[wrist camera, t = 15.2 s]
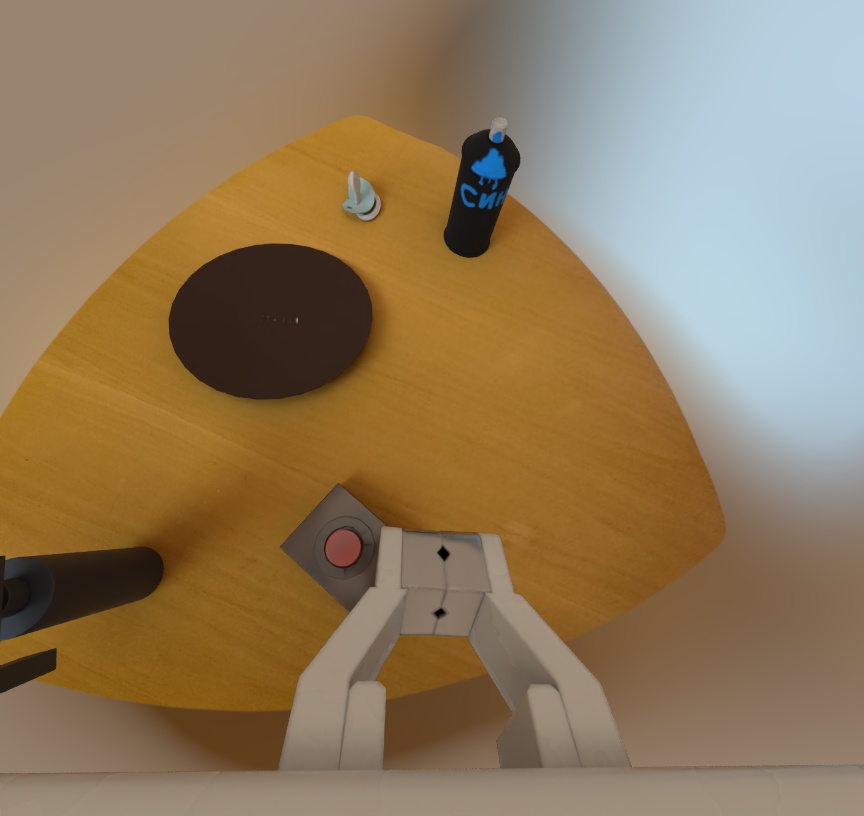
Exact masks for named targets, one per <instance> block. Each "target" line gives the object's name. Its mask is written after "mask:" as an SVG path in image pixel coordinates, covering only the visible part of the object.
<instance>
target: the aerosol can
mask: <svg viewBox="0 0 864 816" xmlns="http://www.w3.org/2000/svg"><path fill="white" fill-rule="evenodd" d="M507 127H508V122H507V121H506V120H505V119H504V118H501V117H498V118H495V119H494V120H493V123H492V127H491V129H487V130H483V131H480V132H478V133H475V134H473V135H471V136H469V137H468V138H467V139H466V140H465V142H464V143H463V146H462V159H461V164H460V168H459V173H458V177H457V182H456V187H455V191H454V196H453V201H452V205H451V210H450V215H449V219H448V224H447V227H446V228H445V231H444V240H445V242H446V244H447V246H448V247H449V248H450V250H452V251H453V252H454V253H456V254H458V255H460V256H463V257H477V256H479V255H481V254H483V253H484V252H485V251H486V250H487V249H488V247H489V244H490V237H491V235H492V232H493V229H494V227H495V224H496V221H497V219H498V216H499V213H500V211H501V208H502V205H503V203H504V200H505V197H506V195H507V191H508V189H509V186H510V184H511V181H512V178H513V176H514V173H515V172H516V171H517V169H518V168H519V165H520V154H519V151H518V149H517V148H516V146H515V144H514V143H513V141H512V140H511V139H510V138H509V137H508V136H507V135H506V134H505V133H506V130H507Z"/></svg>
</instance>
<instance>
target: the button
mask: <svg viewBox="0 0 864 816" xmlns="http://www.w3.org/2000/svg"><path fill="white" fill-rule="evenodd" d="M361 548H362V544H361V540H360V538H359V536H358V535H357V534H356V533H355V532H354V531H352V530H347V529H343V530H339V531H336V532H335V533H333V534H332V535H331V536H330V537H329V539H328V540H327V543H326V547H325V552H326V556H327V558H328V560H329V561H330V562H331V563H332V564H334V565H336V566H341V567H342V566H348V565H350V564H352V563H353V562H354V561H355V560H356V559H357V558H358V556H359V555H360V552H361Z"/></svg>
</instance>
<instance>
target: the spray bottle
mask: <svg viewBox="0 0 864 816" xmlns="http://www.w3.org/2000/svg"><path fill="white" fill-rule="evenodd" d="M163 569H164V567H163V561H162V559H161V557H160V555H159V554H158V553H157V552H156V551H154V550H152V549H150V548H146V547H136V548H124V549H112V550H100V551H88V552H76V553H64V554H52V555H40V556H28V557H17V558H12V559H9V560H6V561H5V556H0V641H2V640H7V639H11V638H14V637H18V636H21V635H24V634H28V633H31V632H34V631H38V630H41V629H44V628H48V627H51V626H54V625H58V624H61V623H64V622H68V621H71V620H74V619H78V618H81V617H84V616H88V615H91V614H94V613H98V612H101V611H104V610H108V609H111V608H114V607H118V606H121V605H124V604H128V603H131V602H134V601H138V600H141V599H143V598H145V597H146V596H148V595H149V594H151V593H152V592H153V591H154V590H155V589H156V587H157V586H158V585H159V583H160V581H161V579H162V576H163Z"/></svg>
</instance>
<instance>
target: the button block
mask: <svg viewBox="0 0 864 816" xmlns="http://www.w3.org/2000/svg"><path fill="white" fill-rule="evenodd" d="M382 526H386V525H385V524H384V523H383V522H382V521H381V520H380V519H379V518H377V517H376V516H375V515H374V514H373V513H372V512H371V511H370V510H368V509H367V508H366V507H365V506H364V505H363V504H362V503H361V502H359V501H358V500H357V499H356V498H355V497H354V496H353V495H352V494H350V493H349V492H348V491H347V490H346V489H345V488H344V487H342V486H341V485H340V484H339V483H338V484H337V485H336V486H335V487H334V488H333V490H332V491H331V492H330V493H329V494H328V495H327V496H326V497H325V498H324V499H323V500H322V502H321V503H320V504H319V505H318V506H317V507H316V508H315V509H314V510H313V511H312V512H311V513H310V515H309V516H308V517H307V518H306V519H305V520H304V521H303V522H302V523H301V524H300V525H299V527H298V528H297V529H296V530H295V531H294V532H293V533H292V534H291V535H290V536H289V537H288V539H287V540H286V541H285V542H284V543H283V544H282V545H281V546H280V548H281V549H282V550H283V551H284V552H285V553H287V554H288V555H289V556H290V557H291V558H292V559H293V560H294V561H295V562H296V563H297V564H298V565H299V566H301V567H302V568H303V569H304V570H305V571H306V572H307V573H308V574H309V575H310V576H311V577H312V578H313V579H315V580H316V581H317V582H318V583H319V584H320V585H321V586H322V587H323V588H324V589H325V590H326V591H327V592H328V593H330V594H331V595H332V596H333V597H334V598H335V599H336V600H337V601H338V602H339V603H340V604H341V605H342V606H344V607H345V608H346V609H347V610H348V611H349V612H351V611H352V609H353V608H354V607H355V606H356V604H357V603H358V602H359V600H360V599H361V598H362V597H363V595H364V594H365V593H366V592H367V590H368V589H369V588H370V587H375V577H376V568H377V560H378V552H379V544H380V536H381V528H382ZM386 527H388V526H386ZM343 529H347V530H352V531H354V532H355V533H356V534H357V535H358V536H359V538H360V540H361V544H362V548H361V552H360V555H359V556H358V558H357V559H356V560H355V561H354V562H353V563H352V564H350V565H348V566H342V567H341V566H336V565H334V564H332V563H331V562H330V561H329V560H328V558H327V556H326V552H325V547H326V543H327V540H328V539H329V537H330V536H331V535H332V534H333V533H335V532H336V531H339V530H343Z"/></svg>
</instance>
